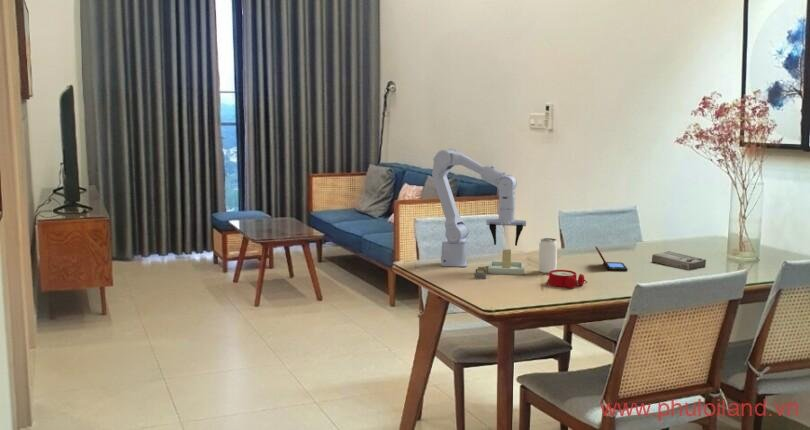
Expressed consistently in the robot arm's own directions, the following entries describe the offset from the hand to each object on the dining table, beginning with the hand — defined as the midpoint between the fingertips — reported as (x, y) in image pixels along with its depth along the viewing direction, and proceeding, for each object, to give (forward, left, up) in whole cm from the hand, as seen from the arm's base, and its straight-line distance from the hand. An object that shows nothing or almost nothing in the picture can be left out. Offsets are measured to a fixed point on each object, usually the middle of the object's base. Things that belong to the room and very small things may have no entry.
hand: (505, 244), depth 288 cm
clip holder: (-8, -12, -9) cm, 17 cm away
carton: (+1, -1, -9) cm, 9 cm away
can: (+16, -1, -10) cm, 18 cm away
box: (+66, +21, -10) cm, 70 cm away
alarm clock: (+21, -20, -10) cm, 31 cm away
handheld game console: (+40, +10, -10) cm, 42 cm away
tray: (+1, -1, -9) cm, 9 cm away
